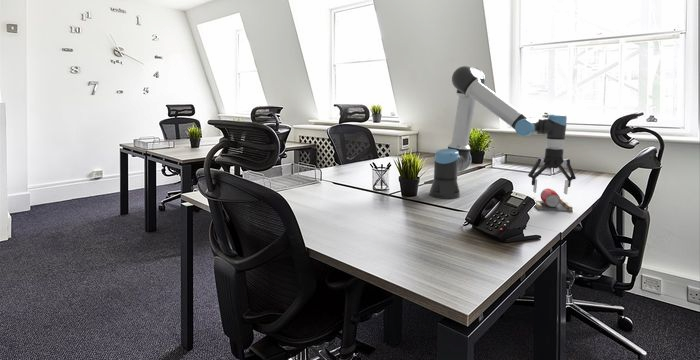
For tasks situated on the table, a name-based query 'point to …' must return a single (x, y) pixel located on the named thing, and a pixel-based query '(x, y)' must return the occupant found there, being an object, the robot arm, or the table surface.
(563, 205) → the guide rails
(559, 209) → the mat
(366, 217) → the table surface
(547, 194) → the soda can
